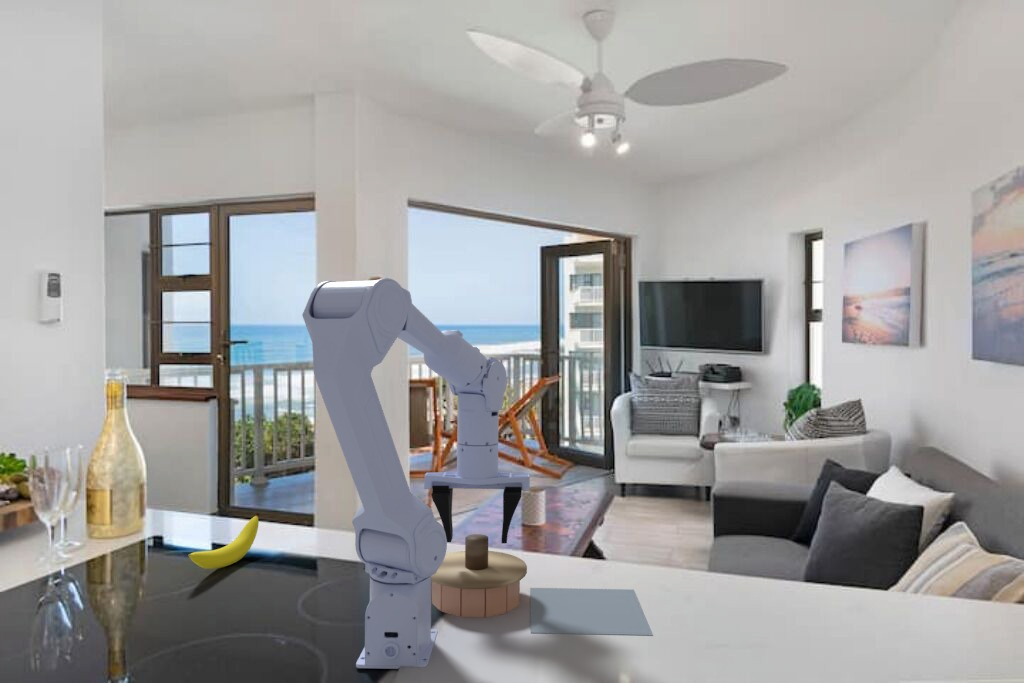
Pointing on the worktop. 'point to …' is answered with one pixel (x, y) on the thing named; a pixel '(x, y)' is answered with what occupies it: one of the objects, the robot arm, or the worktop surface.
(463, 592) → the terracotta bowl
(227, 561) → the banana
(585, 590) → the rubber mat
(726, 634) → the worktop surface
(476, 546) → the oak lid
